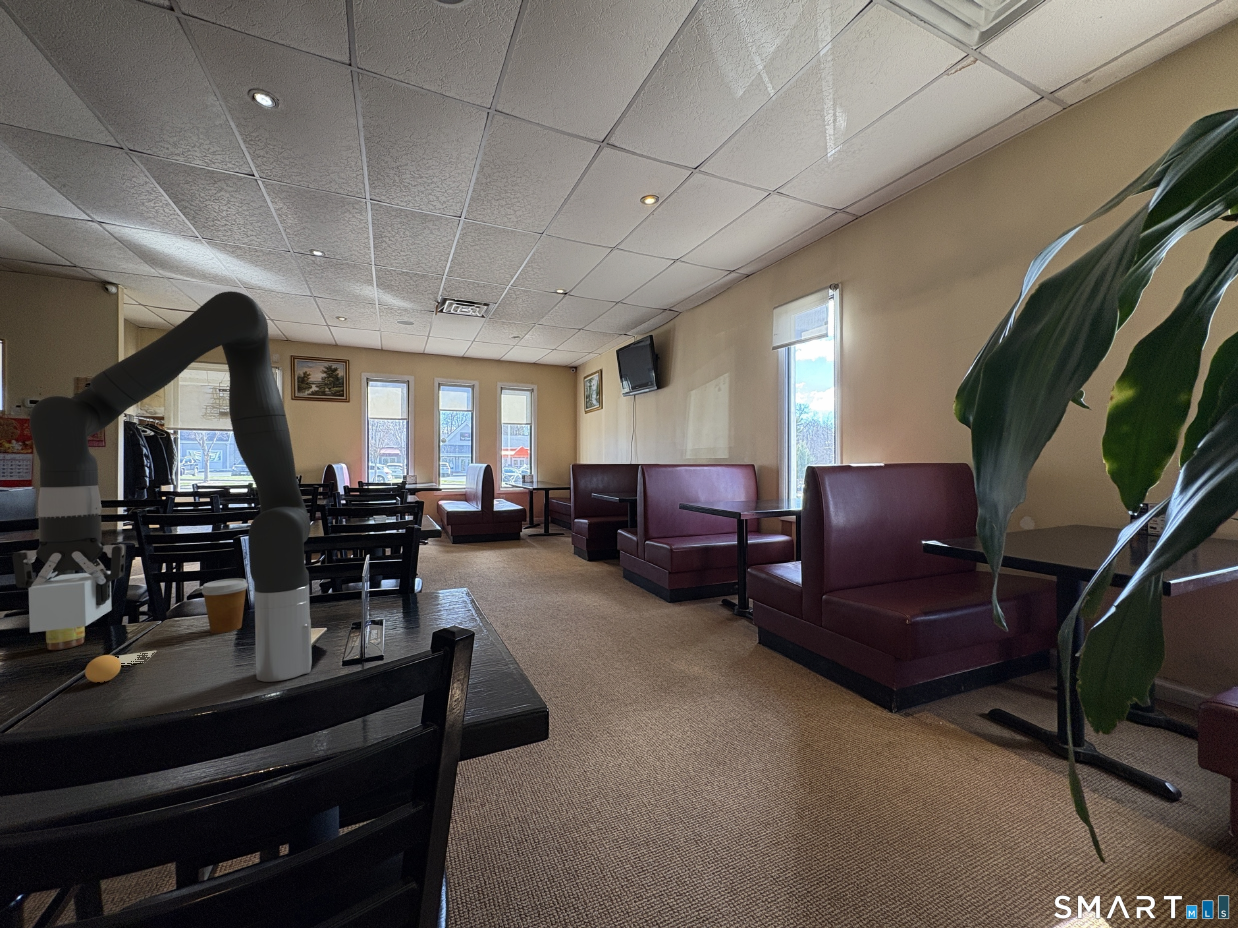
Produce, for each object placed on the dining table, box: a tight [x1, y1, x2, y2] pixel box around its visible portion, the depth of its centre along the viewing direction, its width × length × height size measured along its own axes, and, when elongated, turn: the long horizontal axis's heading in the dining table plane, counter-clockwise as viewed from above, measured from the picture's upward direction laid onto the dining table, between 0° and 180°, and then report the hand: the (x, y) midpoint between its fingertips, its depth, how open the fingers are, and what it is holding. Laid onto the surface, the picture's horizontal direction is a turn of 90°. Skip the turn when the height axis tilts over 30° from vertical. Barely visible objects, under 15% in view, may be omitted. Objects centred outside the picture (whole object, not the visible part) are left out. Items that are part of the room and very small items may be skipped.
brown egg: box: [84, 654, 122, 683], centre depth 102 cm, size 5×5×5 cm
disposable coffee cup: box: [201, 578, 249, 634], centre depth 133 cm, size 10×10×12 cm
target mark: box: [118, 649, 157, 666], centre depth 113 cm, size 8×8×1 cm
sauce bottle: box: [45, 570, 86, 651], centre depth 122 cm, size 7×6×20 cm
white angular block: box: [28, 570, 112, 634], centre depth 92 cm, size 7×11×7 cm, turn 28°
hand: (73, 607), depth 92 cm, fingers closed on white angular block, 6 cm apart
